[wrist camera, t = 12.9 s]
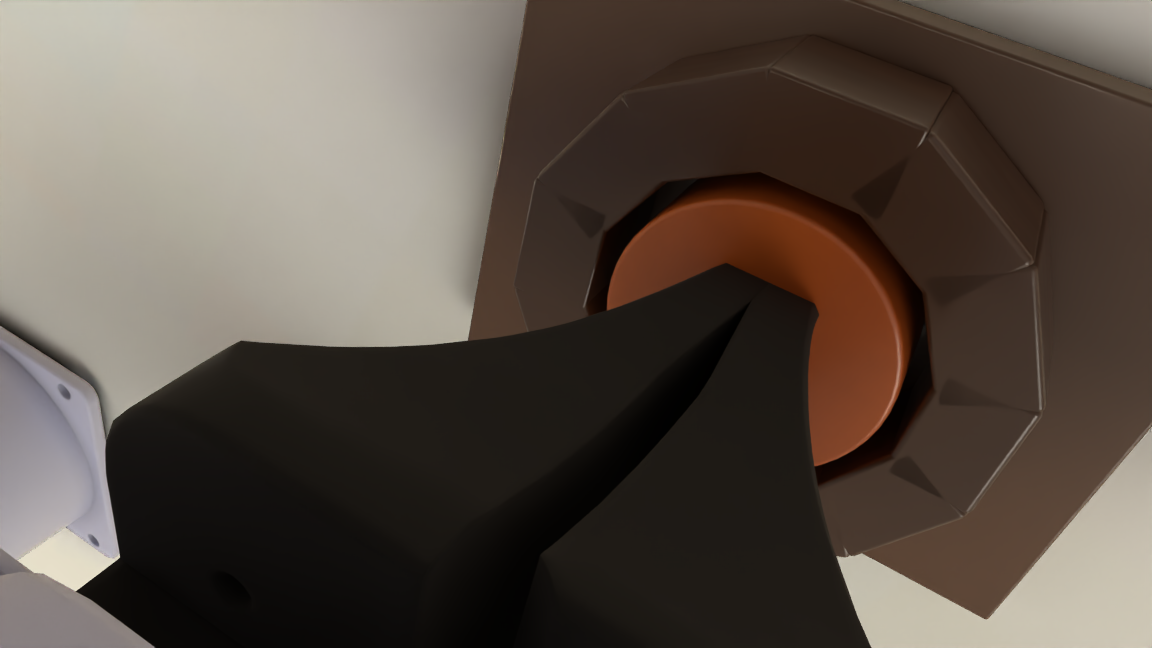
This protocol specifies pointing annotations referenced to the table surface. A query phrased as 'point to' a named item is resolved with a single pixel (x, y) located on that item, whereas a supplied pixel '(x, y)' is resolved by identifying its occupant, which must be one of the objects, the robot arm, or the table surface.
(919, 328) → the button
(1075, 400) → the control pad
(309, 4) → the table surface
